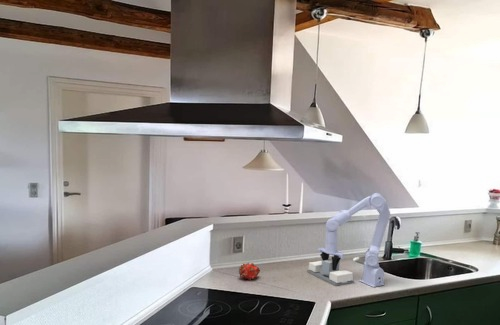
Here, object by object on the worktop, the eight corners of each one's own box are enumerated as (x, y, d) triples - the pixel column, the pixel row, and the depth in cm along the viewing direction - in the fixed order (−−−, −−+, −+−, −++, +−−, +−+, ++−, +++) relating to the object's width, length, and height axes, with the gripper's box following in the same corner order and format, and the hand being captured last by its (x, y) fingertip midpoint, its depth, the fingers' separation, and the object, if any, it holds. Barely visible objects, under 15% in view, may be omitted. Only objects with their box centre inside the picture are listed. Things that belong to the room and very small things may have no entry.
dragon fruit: (235, 282, 180) (257, 283, 185) (243, 277, 174) (265, 277, 179) (234, 265, 185) (255, 266, 190) (241, 259, 179) (263, 260, 184)
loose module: (339, 271, 190) (339, 260, 190) (328, 275, 184) (329, 263, 184) (331, 269, 193) (332, 258, 193) (321, 272, 187) (322, 260, 187)
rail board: (354, 282, 182) (354, 272, 182) (335, 286, 176) (335, 276, 176) (324, 269, 201) (325, 260, 201) (307, 271, 195) (307, 262, 195)
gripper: (348, 244, 185) (346, 271, 186) (324, 238, 196) (322, 263, 196) (340, 246, 181) (338, 273, 181) (316, 240, 191) (314, 266, 192)
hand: (330, 268), depth 188 cm, fingers closed on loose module, 4 cm apart
